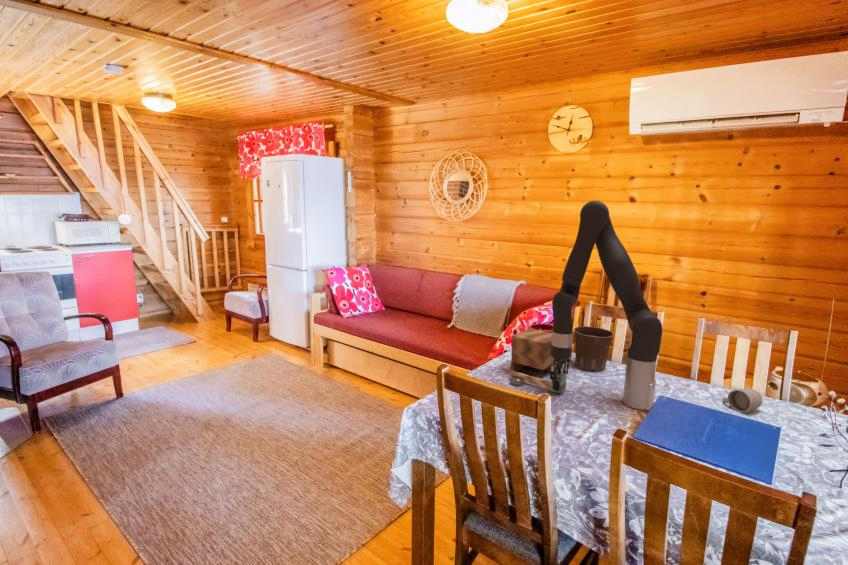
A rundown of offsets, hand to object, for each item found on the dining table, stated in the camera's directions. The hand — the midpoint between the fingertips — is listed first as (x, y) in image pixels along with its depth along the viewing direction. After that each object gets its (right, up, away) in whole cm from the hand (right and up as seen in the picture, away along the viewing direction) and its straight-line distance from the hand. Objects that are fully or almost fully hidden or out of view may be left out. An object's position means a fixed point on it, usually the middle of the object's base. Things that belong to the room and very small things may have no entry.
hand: (558, 387), depth 166 cm
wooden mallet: (-7, 0, +6) cm, 9 cm away
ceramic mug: (+61, -5, -9) cm, 62 cm away
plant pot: (+22, +2, +28) cm, 36 cm away
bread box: (-4, +2, +20) cm, 21 cm away
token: (-14, 0, +8) cm, 16 cm away
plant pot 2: (+7, +6, +49) cm, 50 cm away
